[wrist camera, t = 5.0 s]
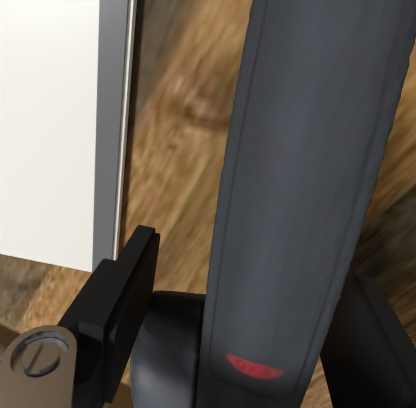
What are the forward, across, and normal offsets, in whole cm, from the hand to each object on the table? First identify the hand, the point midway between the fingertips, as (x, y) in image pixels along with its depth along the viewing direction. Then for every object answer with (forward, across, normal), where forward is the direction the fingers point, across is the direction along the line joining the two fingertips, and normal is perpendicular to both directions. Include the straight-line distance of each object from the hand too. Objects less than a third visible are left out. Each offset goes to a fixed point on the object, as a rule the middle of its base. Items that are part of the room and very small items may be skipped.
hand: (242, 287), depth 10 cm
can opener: (+1, 0, -1) cm, 2 cm away
